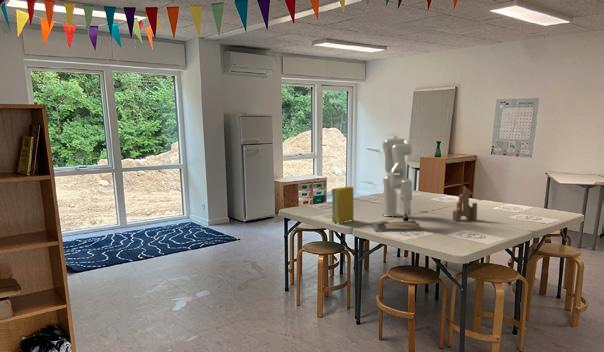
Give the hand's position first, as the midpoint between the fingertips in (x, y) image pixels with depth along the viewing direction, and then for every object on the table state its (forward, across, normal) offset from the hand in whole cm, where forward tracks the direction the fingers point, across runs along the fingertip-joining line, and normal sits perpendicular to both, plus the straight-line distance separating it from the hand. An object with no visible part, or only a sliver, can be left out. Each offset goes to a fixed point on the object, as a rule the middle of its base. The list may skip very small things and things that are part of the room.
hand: (405, 223), depth 282 cm
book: (+2, -18, -41) cm, 45 cm away
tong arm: (+1, +6, -8) cm, 10 cm away
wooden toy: (+2, -15, +47) cm, 49 cm away
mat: (+2, +2, -7) cm, 8 cm away
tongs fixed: (+1, +8, -8) cm, 11 cm away
